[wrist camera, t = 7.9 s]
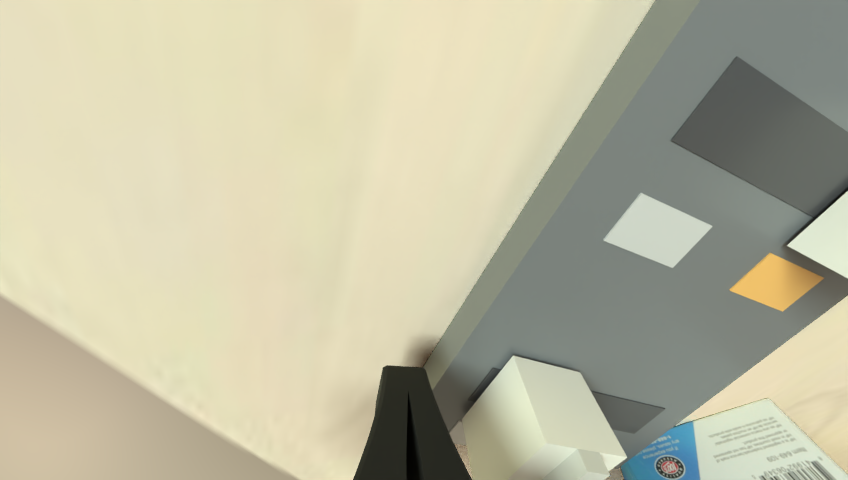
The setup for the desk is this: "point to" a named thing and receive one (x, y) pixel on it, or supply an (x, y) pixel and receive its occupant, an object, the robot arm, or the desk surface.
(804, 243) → the switch tab
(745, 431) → the ink box
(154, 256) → the desk surface
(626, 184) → the switch board
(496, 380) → the switch tab
